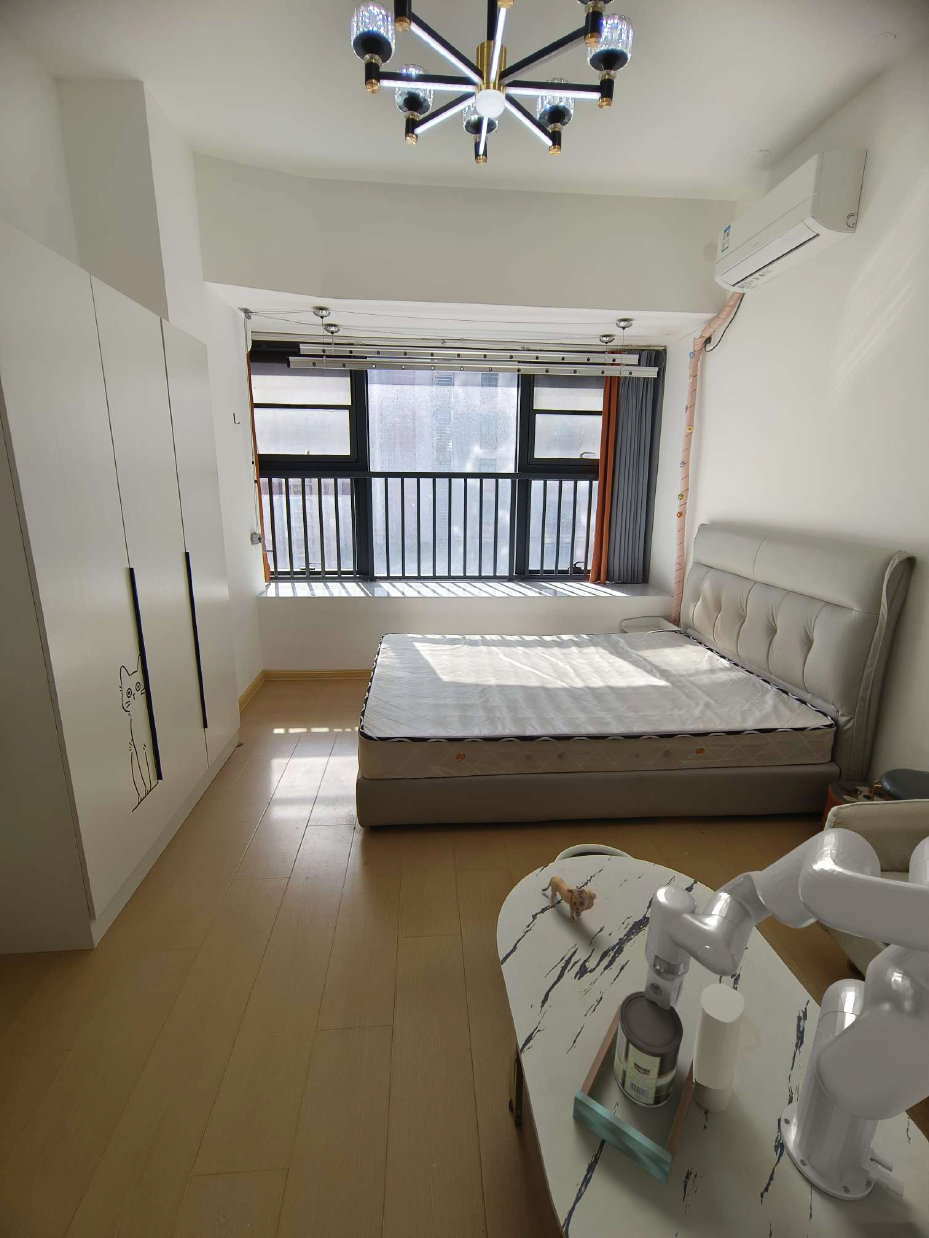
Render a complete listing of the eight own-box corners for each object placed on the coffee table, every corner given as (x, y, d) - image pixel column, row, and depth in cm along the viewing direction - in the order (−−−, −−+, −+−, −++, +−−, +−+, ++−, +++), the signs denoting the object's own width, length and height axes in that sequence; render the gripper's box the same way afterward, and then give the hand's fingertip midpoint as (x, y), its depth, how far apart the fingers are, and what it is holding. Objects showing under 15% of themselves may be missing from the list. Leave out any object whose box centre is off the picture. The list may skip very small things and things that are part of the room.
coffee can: (663, 1044, 102) (672, 991, 97) (681, 1109, 92) (691, 1055, 87) (608, 1041, 103) (613, 989, 98) (619, 1106, 93) (626, 1052, 88)
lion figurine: (597, 918, 130) (600, 888, 128) (585, 932, 127) (588, 900, 124) (547, 886, 140) (548, 857, 138) (534, 897, 137) (536, 868, 134)
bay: (700, 1063, 99) (704, 1043, 98) (666, 1184, 83) (669, 1162, 82) (618, 1015, 108) (620, 995, 107) (572, 1116, 92) (574, 1095, 90)
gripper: (676, 996, 89) (663, 1075, 95) (700, 934, 101) (687, 1008, 106) (631, 971, 94) (621, 1048, 99) (659, 914, 105) (649, 986, 111)
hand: (655, 1027), depth 103 cm, fingers closed
